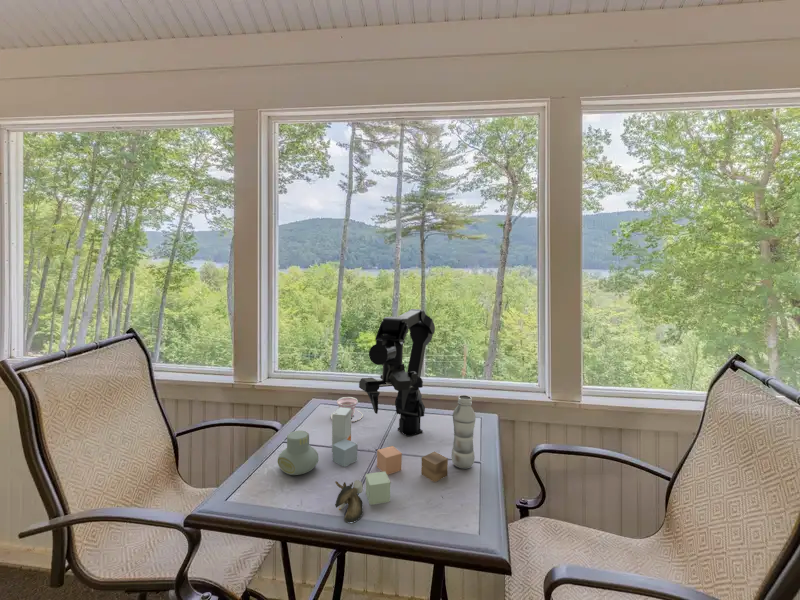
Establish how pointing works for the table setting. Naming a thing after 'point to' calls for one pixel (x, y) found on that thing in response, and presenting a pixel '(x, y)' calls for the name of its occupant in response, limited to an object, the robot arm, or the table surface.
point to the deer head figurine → (350, 500)
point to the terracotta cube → (389, 460)
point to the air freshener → (298, 454)
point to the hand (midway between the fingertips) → (390, 411)
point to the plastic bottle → (463, 433)
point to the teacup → (348, 405)
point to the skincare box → (341, 425)
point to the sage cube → (377, 488)
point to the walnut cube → (434, 466)
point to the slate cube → (344, 452)
